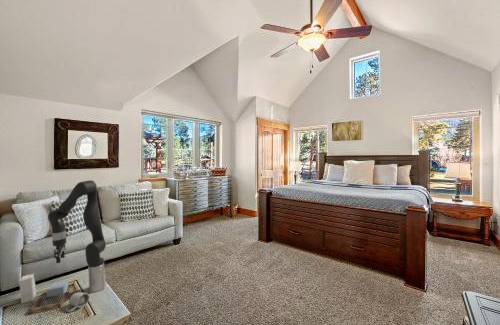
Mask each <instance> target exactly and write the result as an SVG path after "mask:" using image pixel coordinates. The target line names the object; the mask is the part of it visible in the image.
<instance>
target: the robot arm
mask: <svg viewBox="0 0 500 325" xmlns="http://www.w3.org/2000/svg"><path fill="white" fill-rule="evenodd" d="M82 196H86V198H87V200H86V204H85V206H84V210H83V213H82V215H83V222H84V226H85V227H86V229H87V230H88V231H89V232H90V233H91V238H92V242H90V243H88V244H87V245H86V247H85V250H84V252H85V258H86V259H85V261H86V263H87V268H88V290H89V292H90V293H96V292H100V291H102V290H104V289H105V288H106V285H107V279H106V278H107V277H106V271H105V259H104V257H101V253H103V251H105V249H106V245H107V244H106V240H105V237H104V233H103V229H102V222H101V216H100V210H99V201H98V188H97V183H96V181H94V180H85V181H80V182H78V183H77V184H75V186H74V187H73V189H72V191H71V192H69V195H68V197H67V198H66V199H65V200H64V201H63V202H62V203H60V205H59V206H58V209H57V210H53V211H50V212H49V213H48V216H47V218H48V221H49V223H50V225H51V232H52V234H51V240H52V246H53V247H55V249H54V250H53V253H54V254H53V258H54V259H55V262H56V264H60V263H61V259H63V258H65V255H66V254H65V252H66V249H67V248H66V244H67V234H66V224H65V223H64V222H60V221H61V220H63V219H65V218H67V216H68V215H69V213H70V211H71V210H72V209H73V208H75V206H76V205H77V201H78V199H79V198H81V197H82Z"/></svg>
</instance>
